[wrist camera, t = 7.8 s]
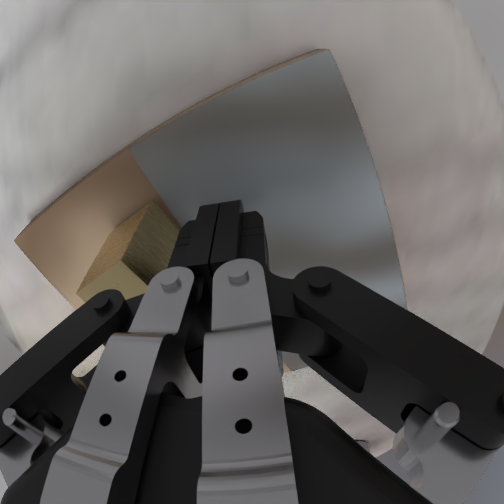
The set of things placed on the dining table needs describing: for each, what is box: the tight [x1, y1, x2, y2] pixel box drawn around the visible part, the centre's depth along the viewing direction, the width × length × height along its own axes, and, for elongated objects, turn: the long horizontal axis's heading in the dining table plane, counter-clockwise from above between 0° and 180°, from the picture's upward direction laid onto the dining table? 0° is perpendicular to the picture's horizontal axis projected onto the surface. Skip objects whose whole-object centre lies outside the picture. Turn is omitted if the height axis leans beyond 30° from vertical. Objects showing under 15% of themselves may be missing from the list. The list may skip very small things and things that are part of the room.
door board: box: [14, 49, 407, 373], centre depth 15 cm, size 17×18×6 cm
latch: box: [76, 200, 284, 376], centre depth 14 cm, size 11×4×4 cm, turn 33°
